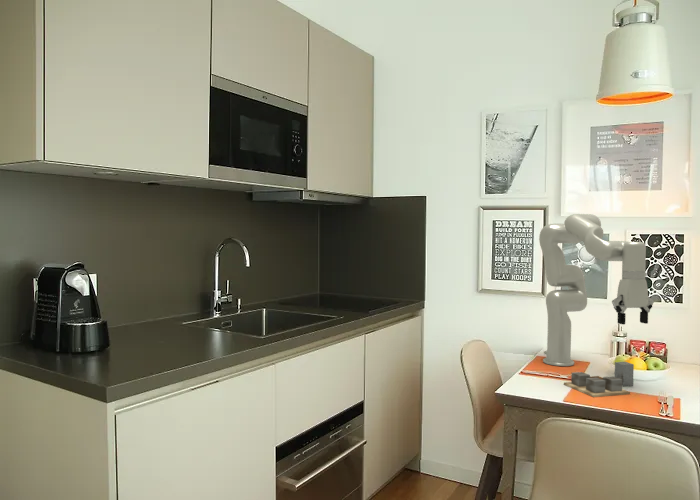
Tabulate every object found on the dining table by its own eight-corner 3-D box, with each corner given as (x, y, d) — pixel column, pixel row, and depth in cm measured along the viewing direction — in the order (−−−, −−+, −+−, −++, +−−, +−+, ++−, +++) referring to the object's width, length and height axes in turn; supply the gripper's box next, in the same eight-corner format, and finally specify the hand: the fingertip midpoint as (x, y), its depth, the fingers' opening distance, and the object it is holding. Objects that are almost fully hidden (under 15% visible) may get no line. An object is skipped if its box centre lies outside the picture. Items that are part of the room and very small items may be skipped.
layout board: (563, 384, 209) (564, 371, 209) (598, 382, 213) (598, 369, 213) (593, 397, 193) (593, 383, 193) (630, 394, 197) (630, 380, 197)
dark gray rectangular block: (614, 383, 211) (615, 362, 211) (624, 382, 213) (624, 361, 212) (623, 386, 207) (623, 365, 207) (633, 385, 208) (633, 364, 208)
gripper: (645, 275, 210) (644, 321, 210) (605, 275, 205) (605, 322, 206) (661, 276, 203) (660, 324, 203) (620, 277, 198) (620, 325, 199)
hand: (632, 323), depth 204 cm, fingers open, 9 cm apart
